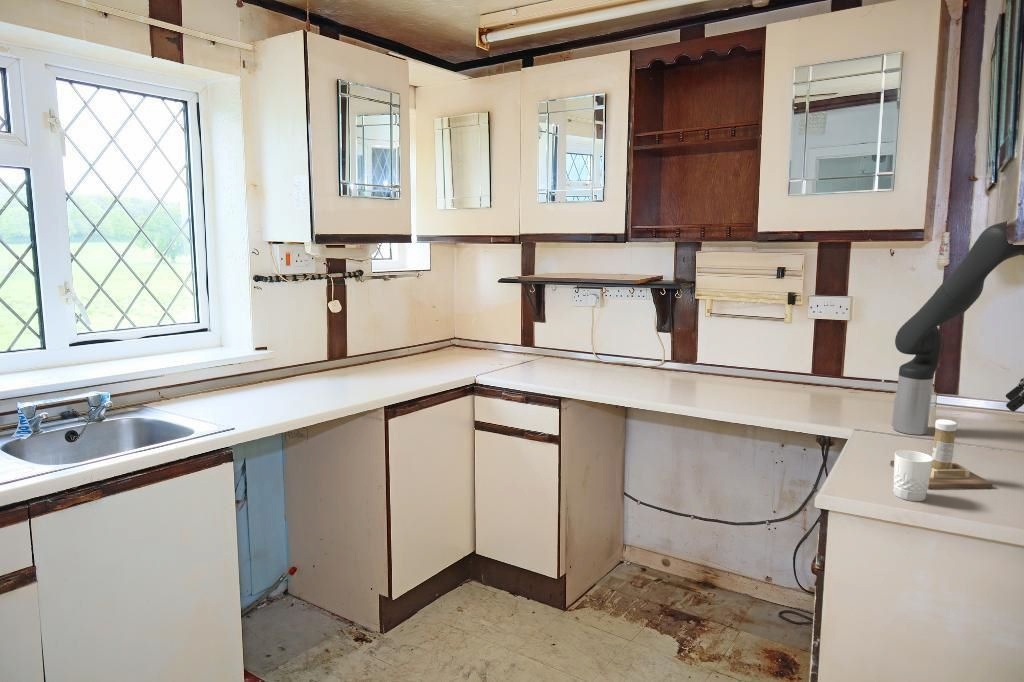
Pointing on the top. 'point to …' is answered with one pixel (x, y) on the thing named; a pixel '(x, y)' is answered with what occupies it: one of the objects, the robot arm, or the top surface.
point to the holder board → (955, 478)
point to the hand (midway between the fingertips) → (1008, 403)
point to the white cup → (911, 475)
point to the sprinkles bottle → (943, 444)
